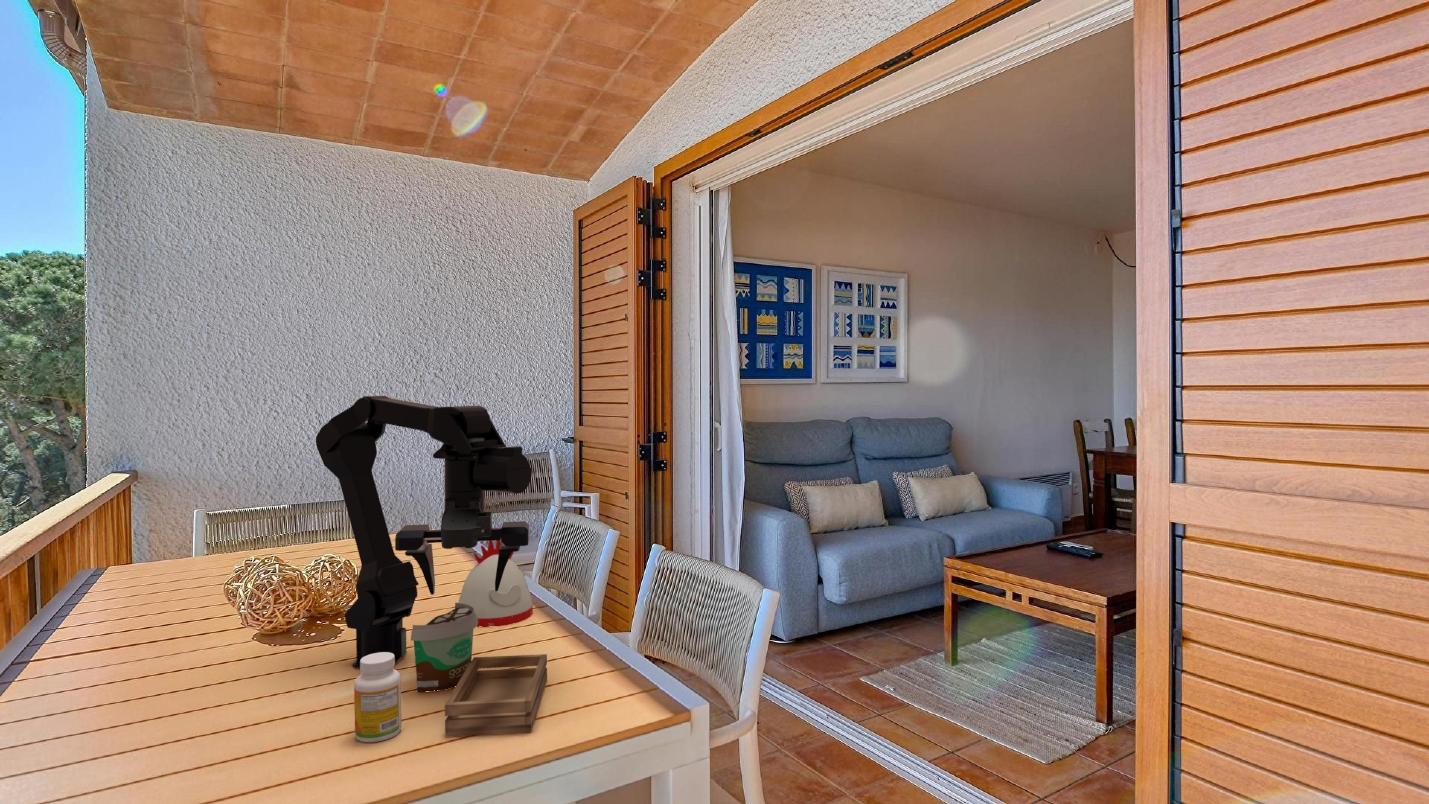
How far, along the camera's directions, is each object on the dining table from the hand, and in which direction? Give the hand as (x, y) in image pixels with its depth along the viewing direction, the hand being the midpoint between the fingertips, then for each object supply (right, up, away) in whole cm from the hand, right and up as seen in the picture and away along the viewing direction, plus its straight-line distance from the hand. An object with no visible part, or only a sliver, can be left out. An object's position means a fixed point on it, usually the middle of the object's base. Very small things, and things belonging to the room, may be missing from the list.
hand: (464, 592), depth 112 cm
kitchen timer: (-4, -13, +31) cm, 34 cm away
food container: (-1, -13, -1) cm, 13 cm away
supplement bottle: (-5, -14, -18) cm, 23 cm away
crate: (+8, -13, -10) cm, 18 cm away
